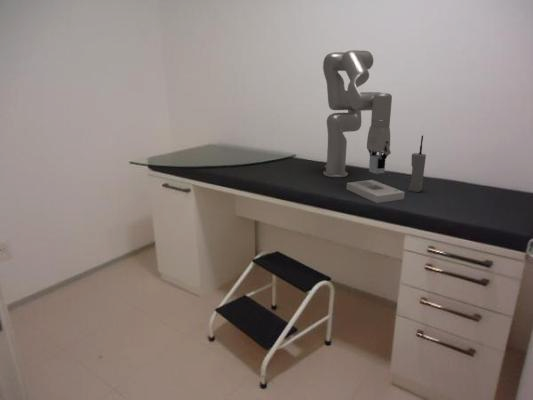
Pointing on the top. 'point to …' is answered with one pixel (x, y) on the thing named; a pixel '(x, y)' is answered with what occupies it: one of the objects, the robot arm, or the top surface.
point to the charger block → (375, 165)
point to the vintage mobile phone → (417, 170)
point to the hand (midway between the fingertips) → (377, 166)
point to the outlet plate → (375, 191)
